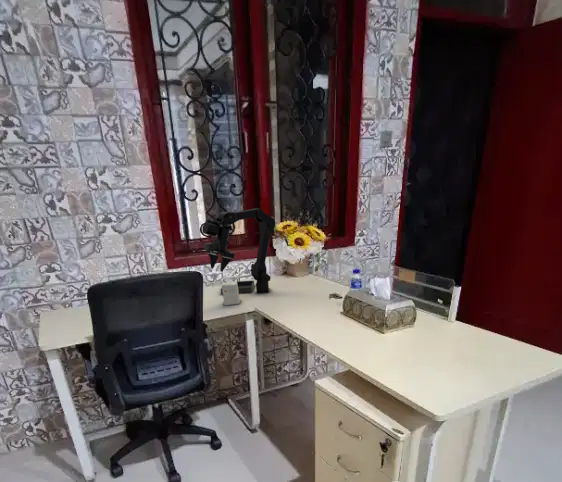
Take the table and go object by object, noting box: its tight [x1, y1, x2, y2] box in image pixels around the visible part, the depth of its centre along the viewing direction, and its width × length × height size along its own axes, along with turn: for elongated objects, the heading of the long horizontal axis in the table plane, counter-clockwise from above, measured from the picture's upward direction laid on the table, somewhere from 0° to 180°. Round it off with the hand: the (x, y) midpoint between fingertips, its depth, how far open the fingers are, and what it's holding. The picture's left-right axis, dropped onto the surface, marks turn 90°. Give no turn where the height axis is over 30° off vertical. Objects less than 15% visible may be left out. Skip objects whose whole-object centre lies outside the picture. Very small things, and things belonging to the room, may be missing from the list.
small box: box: [221, 280, 241, 306], centre depth 215 cm, size 8×6×10 cm
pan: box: [220, 279, 256, 295], centre depth 236 cm, size 17×13×3 cm
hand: (216, 270), depth 209 cm, fingers open, 9 cm apart
